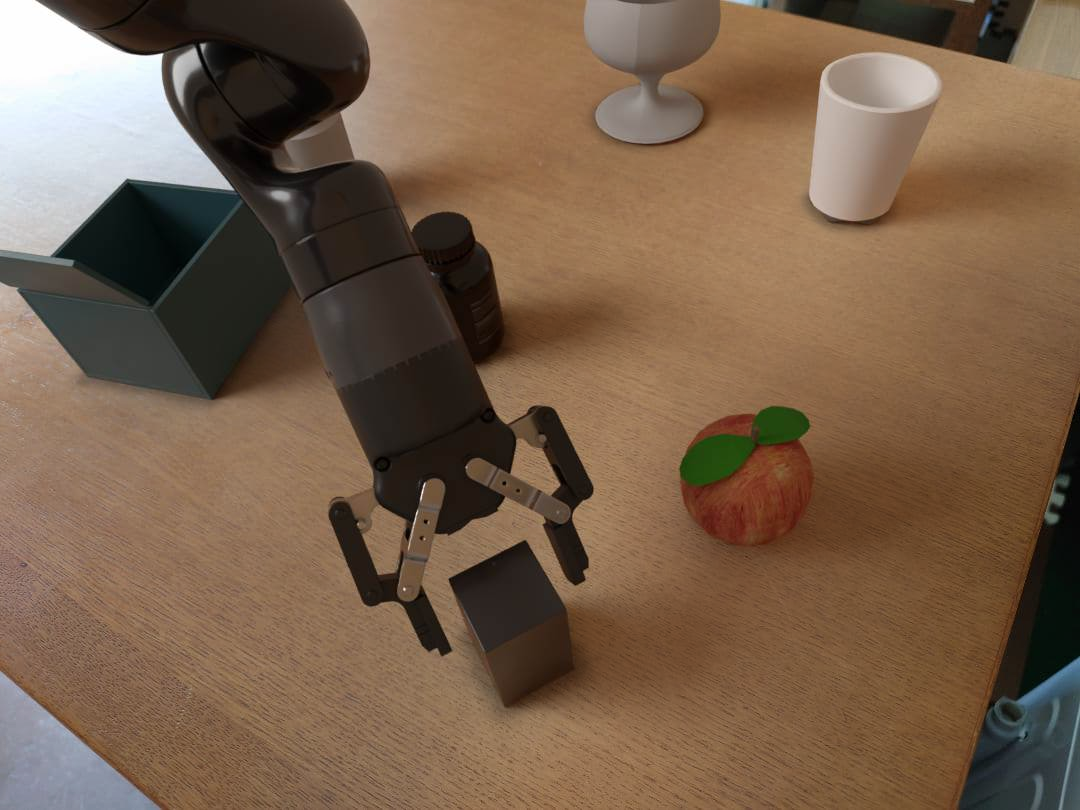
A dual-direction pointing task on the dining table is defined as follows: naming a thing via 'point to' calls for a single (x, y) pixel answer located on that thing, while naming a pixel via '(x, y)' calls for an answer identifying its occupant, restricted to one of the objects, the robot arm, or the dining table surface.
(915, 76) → the cup
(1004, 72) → the dining table surface
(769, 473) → the fruit
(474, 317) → the supplement bottle
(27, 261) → the flap
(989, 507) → the dining table surface
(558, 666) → the block
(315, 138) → the can
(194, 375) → the carton
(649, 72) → the chalice
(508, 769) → the dining table surface
